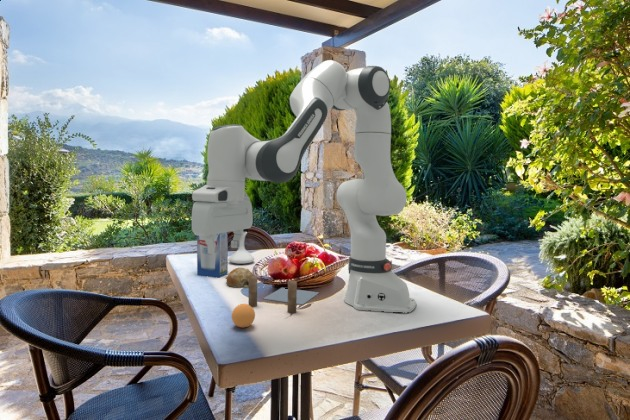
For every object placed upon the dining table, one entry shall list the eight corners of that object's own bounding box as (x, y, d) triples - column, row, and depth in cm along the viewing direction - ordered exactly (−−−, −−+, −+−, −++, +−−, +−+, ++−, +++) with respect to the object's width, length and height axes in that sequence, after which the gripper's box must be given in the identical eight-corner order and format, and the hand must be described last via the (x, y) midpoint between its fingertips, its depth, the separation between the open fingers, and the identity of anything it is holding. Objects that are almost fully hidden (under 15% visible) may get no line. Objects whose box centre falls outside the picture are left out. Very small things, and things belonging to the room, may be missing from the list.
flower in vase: (249, 259, 190) (249, 206, 188) (258, 264, 180) (258, 208, 178) (221, 261, 184) (221, 206, 182) (229, 266, 174) (229, 208, 172)
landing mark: (319, 293, 138) (319, 292, 138) (302, 304, 125) (302, 304, 125) (282, 288, 143) (282, 287, 143) (262, 299, 130) (262, 298, 130)
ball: (259, 324, 108) (259, 302, 108) (247, 332, 103) (247, 309, 102) (239, 321, 110) (239, 299, 110) (227, 328, 105) (227, 306, 104)
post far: (258, 304, 124) (258, 276, 124) (254, 307, 122) (254, 277, 121) (251, 303, 125) (251, 275, 125) (246, 306, 123) (247, 277, 122)
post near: (297, 310, 120) (298, 281, 119) (294, 313, 117) (294, 283, 116) (289, 309, 121) (290, 279, 120) (285, 312, 118) (286, 282, 117)
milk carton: (197, 275, 159) (196, 224, 157) (206, 271, 164) (205, 222, 163) (219, 277, 156) (219, 226, 154) (227, 274, 161) (227, 224, 160)
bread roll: (235, 299, 142) (242, 280, 139) (217, 282, 147) (224, 263, 144) (255, 292, 150) (262, 275, 147) (238, 277, 155) (244, 259, 152)
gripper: (238, 191, 107) (237, 243, 109) (186, 193, 89) (185, 255, 90) (259, 192, 105) (257, 245, 106) (210, 194, 86) (209, 258, 87)
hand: (224, 250), depth 98 cm, fingers open, 8 cm apart
